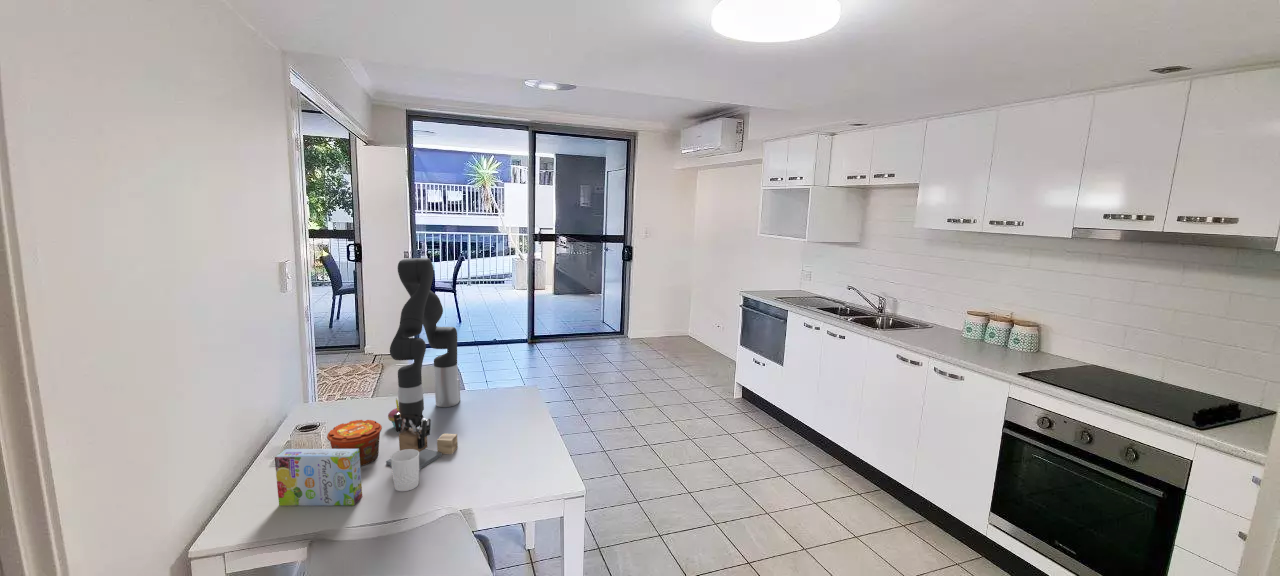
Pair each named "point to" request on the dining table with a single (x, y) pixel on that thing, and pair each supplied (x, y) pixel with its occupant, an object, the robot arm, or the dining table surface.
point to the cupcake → (392, 413)
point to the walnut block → (410, 440)
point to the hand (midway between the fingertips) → (413, 445)
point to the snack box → (318, 477)
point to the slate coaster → (424, 457)
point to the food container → (357, 438)
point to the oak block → (447, 443)
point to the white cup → (405, 469)
